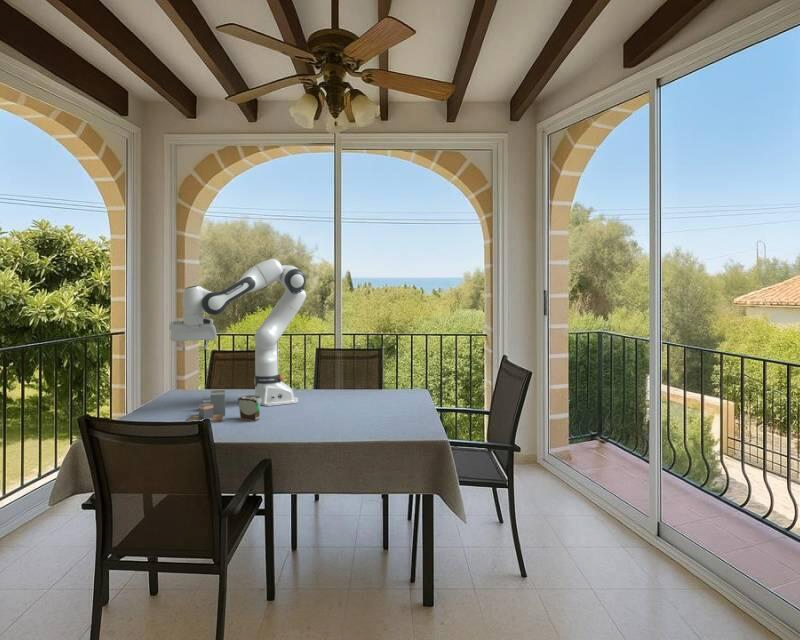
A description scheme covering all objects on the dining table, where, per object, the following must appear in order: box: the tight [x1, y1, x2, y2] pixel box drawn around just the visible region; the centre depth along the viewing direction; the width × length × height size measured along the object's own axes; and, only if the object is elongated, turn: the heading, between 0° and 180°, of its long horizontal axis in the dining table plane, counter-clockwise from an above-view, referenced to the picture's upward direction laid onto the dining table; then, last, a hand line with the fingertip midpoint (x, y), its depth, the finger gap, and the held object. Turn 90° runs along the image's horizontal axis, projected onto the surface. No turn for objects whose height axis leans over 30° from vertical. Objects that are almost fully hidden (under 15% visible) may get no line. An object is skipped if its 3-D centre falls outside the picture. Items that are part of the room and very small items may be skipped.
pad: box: [187, 414, 224, 424], centre depth 236 cm, size 14×10×1 cm
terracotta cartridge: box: [198, 403, 213, 419], centre depth 235 cm, size 4×4×6 cm
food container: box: [237, 394, 262, 422], centre depth 239 cm, size 12×6×10 cm, turn 59°
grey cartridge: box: [202, 396, 211, 404], centre depth 255 cm, size 4×4×6 cm
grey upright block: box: [210, 389, 226, 417], centre depth 246 cm, size 6×6×11 cm
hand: (194, 350), depth 250 cm, fingers open, 8 cm apart
